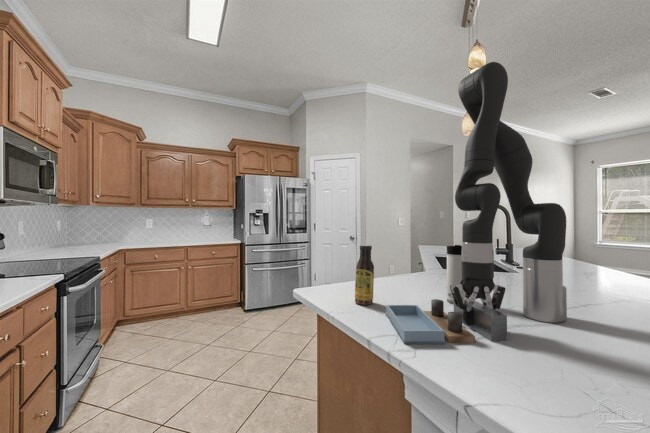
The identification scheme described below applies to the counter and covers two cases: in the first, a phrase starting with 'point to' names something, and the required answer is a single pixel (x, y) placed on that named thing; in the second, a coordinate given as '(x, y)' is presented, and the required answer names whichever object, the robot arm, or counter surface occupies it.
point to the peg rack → (449, 323)
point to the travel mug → (454, 270)
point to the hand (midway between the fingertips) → (477, 324)
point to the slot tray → (414, 325)
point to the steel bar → (486, 321)
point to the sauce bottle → (364, 277)
